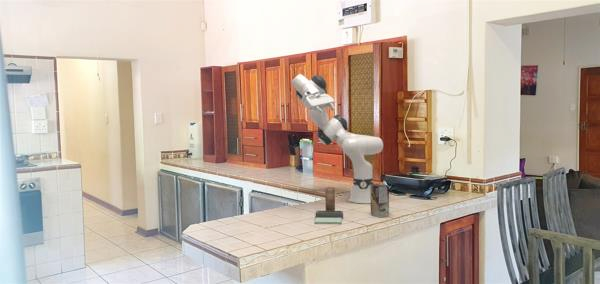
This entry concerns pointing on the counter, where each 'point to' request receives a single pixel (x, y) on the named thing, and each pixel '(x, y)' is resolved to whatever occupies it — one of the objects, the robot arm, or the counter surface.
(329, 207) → the walnut column
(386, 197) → the coffee box
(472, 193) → the counter surface
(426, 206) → the counter surface
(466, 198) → the counter surface
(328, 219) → the board
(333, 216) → the pit tray
